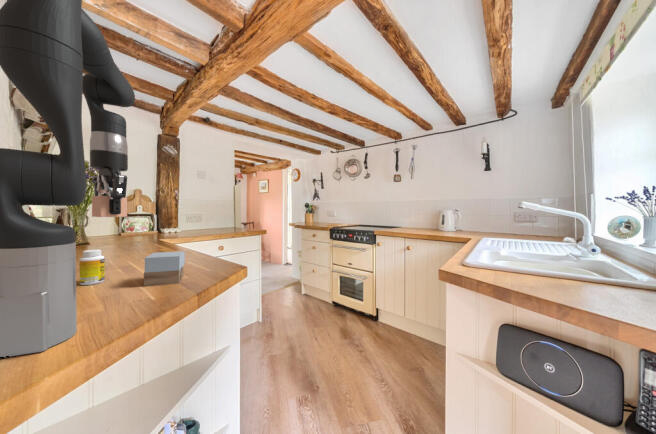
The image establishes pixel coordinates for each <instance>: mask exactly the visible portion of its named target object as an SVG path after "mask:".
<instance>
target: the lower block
mask: <svg viewBox="0 0 656 434" xmlns="http://www.w3.org/2000/svg"><path fill="white" fill-rule="evenodd" d="M183 277H184V266H183V267H182V268H181V269H180V270H176V271H162V272H147V273H145V271H144V273H143V287H145V288H146V287H155V286H166V285H175V284H176V285H177V284H178V285H179V284H180V283H181V280H182V279H183Z"/></svg>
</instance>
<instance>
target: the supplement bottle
mask: <svg viewBox="0 0 656 434" xmlns="http://www.w3.org/2000/svg"><path fill="white" fill-rule="evenodd" d="M78 261H79V263H78V264H79V265H78V266H79V269H78V270H79V285H82V286H92V285H97V284H101V283H103V282H104V281H105V279H106V278H105V277H106V275H105V271H106V270H105V269H106V266H105V265H106V263H105V256H104V255H102V250H101V249H88V250H82V257H80V258H79V259H78Z"/></svg>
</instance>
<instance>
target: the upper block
mask: <svg viewBox="0 0 656 434" xmlns="http://www.w3.org/2000/svg"><path fill="white" fill-rule="evenodd" d="M185 252H186V251H185V250H184V251H164V252H162V251H161V252H160V251H159V252H152V253H151V254H149V255H147V256H145V257H144V272H145V273H147V272H162V271H176V270H180V269H181V268H182V267H183V268H184V266H185V264H186V263H185V261H186V259H185V257H186V255H185V254H186V253H185Z"/></svg>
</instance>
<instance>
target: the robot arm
mask: <svg viewBox="0 0 656 434" xmlns="http://www.w3.org/2000/svg"><path fill="white" fill-rule="evenodd" d="M82 3H83V0H7V1H5V3H3V5H2V6H1V8H0V68H1V70H2V71H3V73H4V74H5V75H6V77H7V79H9V81H10V82H11V83H12V84H13V86H14V87H15V88H16V89H17V91H19V93H20V94H21V95H22V96H23V97H24V99H26V101H27V102H28V103H29V104H30V105H31V106H32V107H33V109H34V110H35V112H37V114H39V116H40V117H41V119H42V120H43V121H44V123H45V124H46V126H47V127H48V129H49V130H50V132H51V134H52V135H53V137H54V139H55V141H56V142H57V145H58V148H59V154H55V153H54V154H53V153H48V152H38V151H31V150H23V149H14V148H5V147H3V148H2V147H0V357H4V358H7V357H6V356H9V357H8V358H10V357H15V356H21V355H28V354H35V353H41V352H45V351H46V350H48V349H49V348H51V347H53V346H56V345H58V344H60V343H63V342H65V341H67V340H68V339H70V338H72V337H73V336H74V335H75V334H76V333H77V329H78V327H77V326H78V325H77V324H78V323H77V318H78V317H77V252H76V251H77V249H76V248H77V246H76V245H77V241H76V239H77V237H76V236H77V234H76V230H75V228H74V227H72V226H69V225H65V224H60V223H54V222H50V221H48V220H47V221H46V220H43V219H41V218H37V217H35V216H33V215H31V214H28V213H27V212H26V211H25V210H24V208H23V207H24V206H49V207H50V206H52V207H53V206H55V207H56V206H57V207H58V206H59V207H61V206H62V207H65V206H66V207H72V206H76V207H77V206H80V205H81V204H82V203H83V202H84V200H85V197H86V193H87V171H86V161H85V160H86V159H85V148H84V139H83V123H82V121H83V120H82V116H83V115H82V114H83V111H82V110H83V96H84V98H85V101H86V104H87V108H88V111H89V115H90V138H89V139H90V140H89V166H90V168H92V169H96V170H98V175H97V176H94V177H93V178H92V180H93V190H94V196H109V199H110V200H109V213H110V214H120V213H121V201H120V200H122V199H123V198H125V197H127V186H128V185H127V184H128V175H123V174H122V172H127V171H128V170H129V169H128V167H129V166H128V165H129V161H128V159H129V156H128V153H129V151H128V150H129V148H128V146H129V145H128V141H127V140H128V139H127V121H126V118H125V117H124V116H122V115H121V114H119V113H116V112H113V111H110V110H107V109H105V107H104V105H109V106H114V107H120V108H129V107H132V106H133V105H134V103H135V101H136V94H135V91H134V89H133V87H132V85H131V84H130V82H129V81H128V79H127V78H126V76H125V75H124V74H123V72H122V71H121V69H120V68H119V67H118V66H117V64H116V63H115V60H114V58H113V56H112V53H111V50H110V48H109V46H108V43H107V41H106V39H105V36H104V34H103V33H102V31H101V29H100V28H99V27H98V25H97V24H96V22H95V21H94V20H93V19H92V18H91V17H90V15H88V13H86V11H85V10H84V9H83V8H82V6H83V5H82ZM84 71H85V72H86V73H85V74H84V73H83V72H84Z"/></svg>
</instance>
